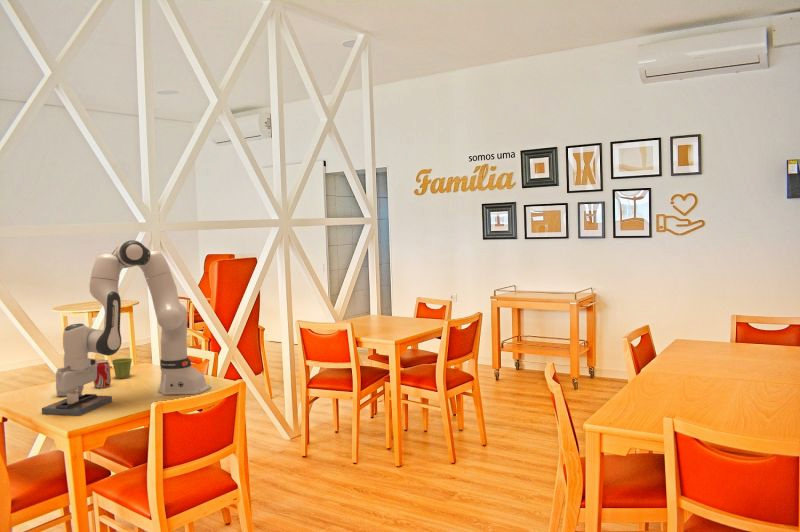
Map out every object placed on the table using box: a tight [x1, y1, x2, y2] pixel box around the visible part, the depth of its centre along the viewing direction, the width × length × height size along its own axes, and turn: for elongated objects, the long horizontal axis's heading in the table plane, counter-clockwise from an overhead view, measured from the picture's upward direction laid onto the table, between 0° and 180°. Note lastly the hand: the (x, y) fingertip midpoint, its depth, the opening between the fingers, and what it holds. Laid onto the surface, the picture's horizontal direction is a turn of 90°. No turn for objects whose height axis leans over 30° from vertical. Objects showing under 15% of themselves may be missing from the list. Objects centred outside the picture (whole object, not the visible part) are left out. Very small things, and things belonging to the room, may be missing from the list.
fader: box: [66, 392, 79, 404], centre depth 258 cm, size 3×3×4 cm
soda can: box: [93, 359, 112, 389], centre depth 294 cm, size 7×7×12 cm
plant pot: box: [110, 357, 133, 380], centre depth 312 cm, size 9×9×9 cm
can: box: [55, 367, 72, 398], centre depth 281 cm, size 8×8×12 cm
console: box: [41, 393, 113, 417], centre depth 261 cm, size 17×20×5 cm
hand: (77, 397), depth 261 cm, fingers closed
